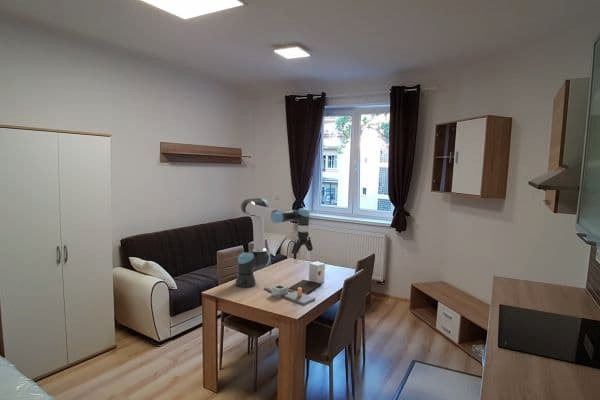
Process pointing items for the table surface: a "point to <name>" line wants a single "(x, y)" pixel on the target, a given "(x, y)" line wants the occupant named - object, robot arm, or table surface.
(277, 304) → the table surface
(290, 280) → the table surface
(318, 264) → the supplement box
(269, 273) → the table surface
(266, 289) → the chain tail
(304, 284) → the hardcover book
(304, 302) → the keeper
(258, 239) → the robot arm
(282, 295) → the square tube segment
